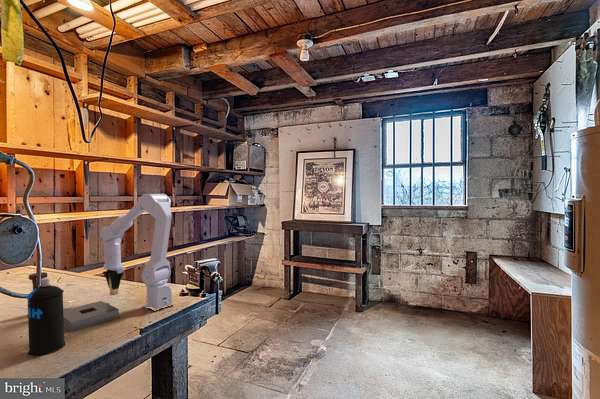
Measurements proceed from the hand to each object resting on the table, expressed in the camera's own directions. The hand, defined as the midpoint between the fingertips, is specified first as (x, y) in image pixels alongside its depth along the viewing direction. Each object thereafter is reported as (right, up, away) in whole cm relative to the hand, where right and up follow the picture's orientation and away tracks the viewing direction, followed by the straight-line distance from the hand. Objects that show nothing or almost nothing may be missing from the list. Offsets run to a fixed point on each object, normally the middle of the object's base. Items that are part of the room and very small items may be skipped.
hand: (113, 288), depth 127 cm
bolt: (-21, -7, -11) cm, 25 cm away
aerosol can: (+5, -6, -39) cm, 40 cm away
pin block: (+2, -6, -18) cm, 19 cm away
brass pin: (0, -2, 0) cm, 2 cm away
